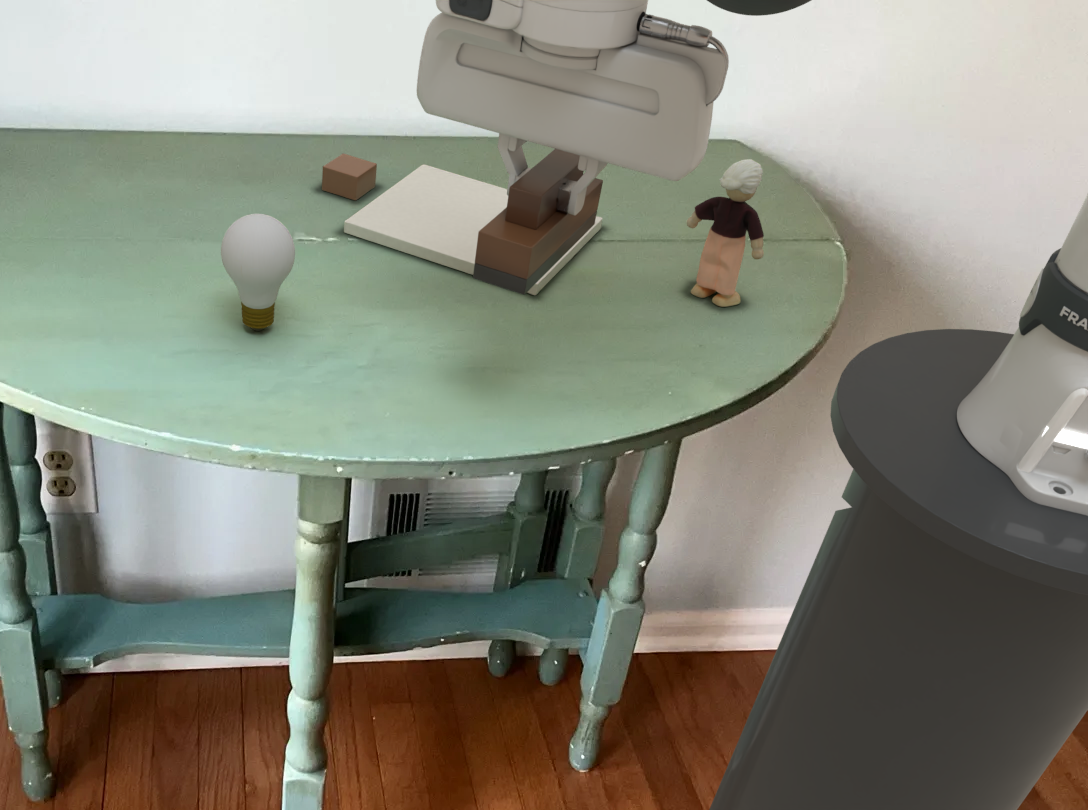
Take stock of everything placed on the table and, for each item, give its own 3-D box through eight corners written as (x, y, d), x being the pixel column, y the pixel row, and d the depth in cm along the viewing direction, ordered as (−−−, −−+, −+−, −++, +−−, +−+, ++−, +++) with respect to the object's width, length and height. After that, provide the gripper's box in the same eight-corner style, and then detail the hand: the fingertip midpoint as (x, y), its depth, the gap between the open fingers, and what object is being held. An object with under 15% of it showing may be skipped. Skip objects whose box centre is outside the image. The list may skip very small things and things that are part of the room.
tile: (600, 228, 117) (603, 217, 116) (535, 296, 106) (537, 284, 105) (421, 174, 124) (423, 163, 123) (343, 232, 113) (344, 221, 112)
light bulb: (304, 320, 101) (308, 211, 94) (274, 354, 96) (276, 242, 90) (242, 304, 102) (241, 194, 95) (209, 336, 98) (206, 224, 91)
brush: (546, 210, 92) (559, 133, 88) (594, 224, 90) (609, 147, 86) (472, 278, 83) (482, 196, 79) (524, 295, 82) (537, 213, 78)
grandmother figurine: (756, 299, 108) (798, 166, 100) (742, 316, 106) (784, 181, 97) (678, 272, 111) (712, 140, 103) (662, 288, 109) (696, 154, 100)
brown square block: (375, 186, 121) (377, 163, 119) (355, 201, 118) (357, 177, 116) (341, 176, 122) (343, 153, 120) (321, 190, 119) (322, 166, 118)
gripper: (751, 21, 74) (698, 226, 83) (458, -44, 81) (439, 152, 90) (720, 49, 70) (668, 262, 79) (414, -22, 77) (399, 181, 86)
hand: (543, 202), depth 84 cm, fingers closed on brush, 2 cm apart
